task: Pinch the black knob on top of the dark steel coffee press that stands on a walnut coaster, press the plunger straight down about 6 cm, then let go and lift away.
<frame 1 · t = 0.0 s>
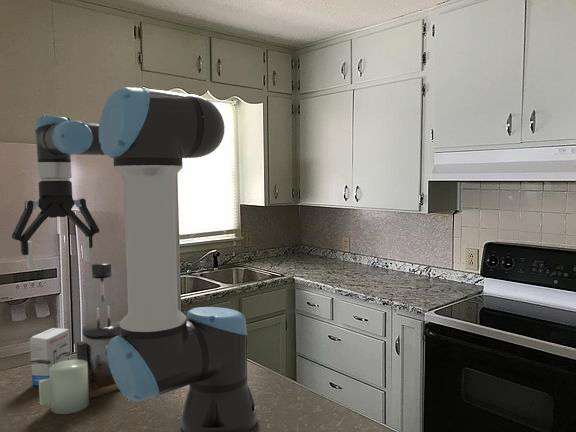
hand: (59, 264, 124), 28 cm above the countertop, fingers open, 13 cm apart
ink box: (52, 380, 122), on the countertop
sage mug: (70, 405, 107), on the countertop
press stand: (106, 381, 120), on the countertop
plunger: (102, 282, 118), point 24 cm above the countertop, slide at 0.0 cm
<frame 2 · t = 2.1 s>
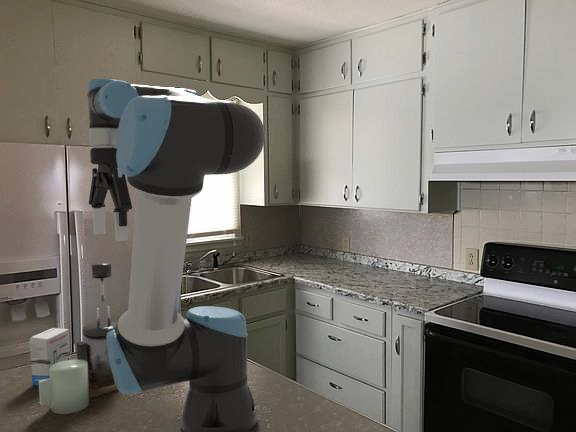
hand: (110, 237, 117), 35 cm above the countertop, fingers open, 13 cm apart
nothing on the countertop moved.
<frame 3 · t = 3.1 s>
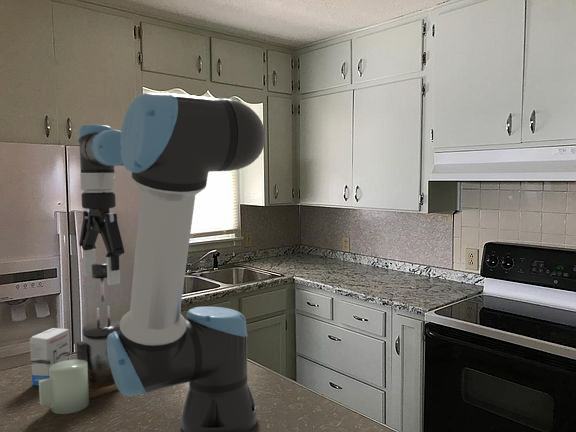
hand: (101, 279, 118), 25 cm above the countertop, fingers open, 13 cm apart
nothing on the countertop moved.
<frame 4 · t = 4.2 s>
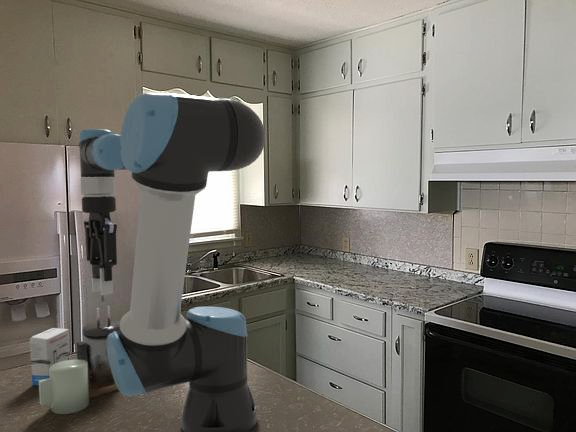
hand: (102, 292, 118), 22 cm above the countertop, fingers closed on plunger, 4 cm apart
plunger: (102, 282, 118), point 24 cm above the countertop, slide at 0.0 cm, touching gripper
everything else where it was.
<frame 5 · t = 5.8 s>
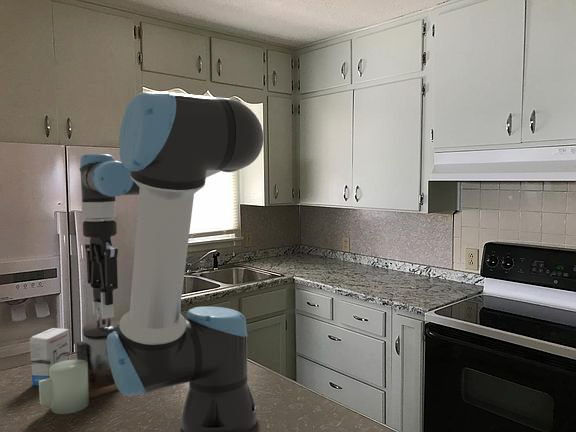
hand: (103, 315, 119), 16 cm above the countertop, fingers closed on plunger, 4 cm apart
plunger: (103, 306, 119), point 19 cm above the countertop, slide at 5.7 cm, touching gripper
everything else where it was.
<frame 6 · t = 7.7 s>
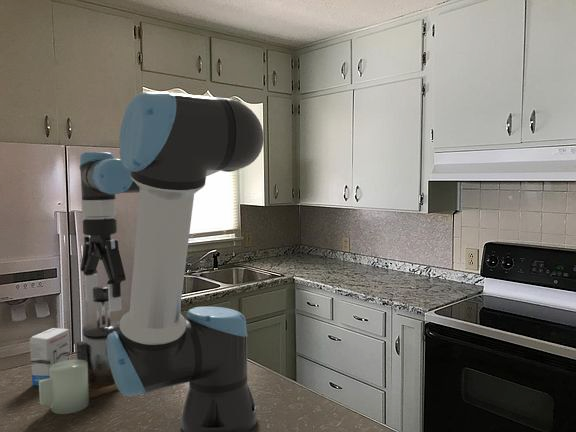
hand: (103, 305, 118), 19 cm above the countertop, fingers open, 13 cm apart
plunger: (103, 306, 119), point 19 cm above the countertop, slide at 5.7 cm
everything else where it was.
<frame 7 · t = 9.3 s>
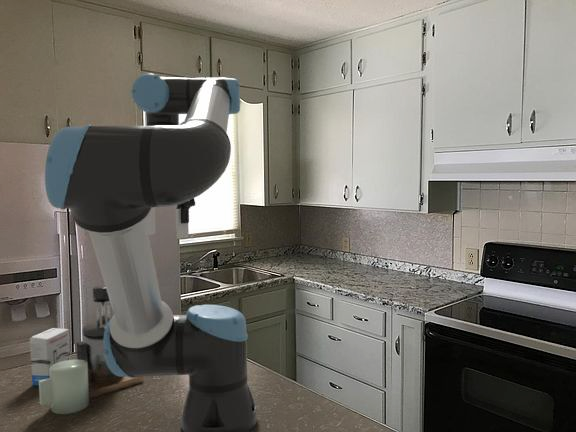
hand: (165, 236, 116), 36 cm above the countertop, fingers open, 13 cm apart
nothing on the countertop moved.
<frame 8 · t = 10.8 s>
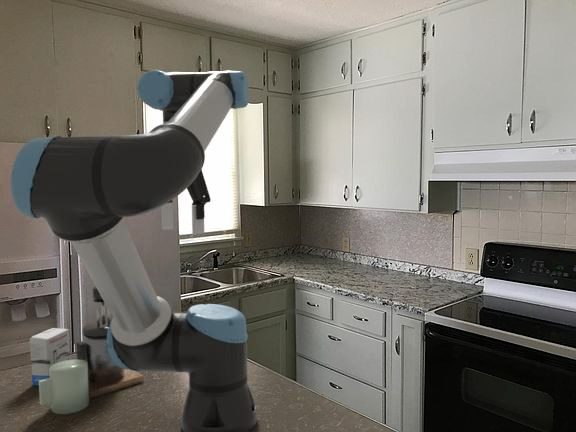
hand: (182, 231, 117), 37 cm above the countertop, fingers open, 13 cm apart
nothing on the countertop moved.
at the end: plunger slide at 5.7 cm; the gripper is holding nothing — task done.
